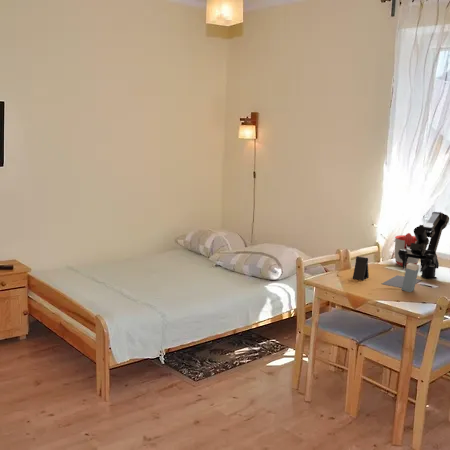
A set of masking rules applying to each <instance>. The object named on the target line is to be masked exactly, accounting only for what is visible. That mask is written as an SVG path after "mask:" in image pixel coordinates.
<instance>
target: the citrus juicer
mask: <svg viewBox="0 0 450 450" xmlns="http://www.w3.org/2000/svg"><path fill="white" fill-rule="evenodd" d="M394 238H395V240H394V241H395V242H394V260H395V264H397V265H398V266H400V267H403V260H402V259H400V257H399V255H398V252H399V250H407V252H408V253H410V254H412V252H411V249H410V246H411V243H416V242H417V239H416V238H415V235H412V234H411V233H410V232H408V233H406V234H404V235H396V236H395V237H394ZM419 261H420V259H416V258H411V257H408V259H407V263H406V266H407V264H409V263H413V264H417V265H418V263H419ZM406 266H405V267H406Z"/></svg>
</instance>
